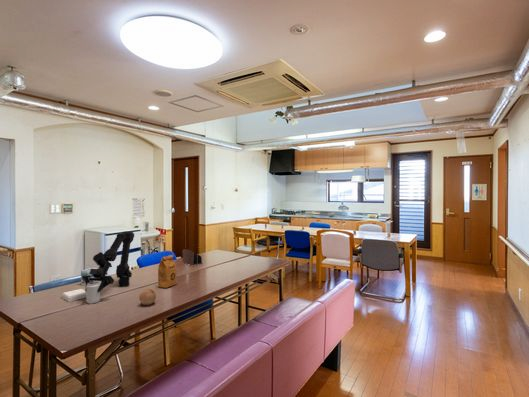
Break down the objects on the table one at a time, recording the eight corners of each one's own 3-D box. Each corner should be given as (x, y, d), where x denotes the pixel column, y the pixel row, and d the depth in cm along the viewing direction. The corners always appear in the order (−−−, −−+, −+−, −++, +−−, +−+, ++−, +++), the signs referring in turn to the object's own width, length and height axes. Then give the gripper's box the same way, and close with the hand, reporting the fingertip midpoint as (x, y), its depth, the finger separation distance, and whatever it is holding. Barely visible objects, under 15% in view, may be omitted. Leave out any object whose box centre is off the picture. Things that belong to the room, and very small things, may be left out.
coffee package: (179, 284, 220) (178, 254, 220) (166, 289, 209) (166, 258, 209) (168, 283, 224) (168, 253, 224) (156, 287, 213) (155, 256, 213)
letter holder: (192, 266, 278) (192, 251, 278) (182, 262, 293) (182, 248, 292) (202, 264, 285) (202, 249, 285) (191, 261, 299) (191, 247, 299)
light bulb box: (88, 286, 218) (88, 271, 218) (80, 285, 219) (80, 270, 219) (99, 281, 228) (99, 267, 228) (91, 281, 230) (91, 267, 230)
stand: (82, 292, 202) (82, 288, 202) (89, 296, 195) (89, 292, 195) (61, 297, 193) (61, 292, 193) (68, 301, 185) (68, 296, 185)
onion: (154, 307, 183) (161, 292, 184) (145, 309, 174) (153, 292, 176) (142, 300, 186) (150, 285, 187) (132, 301, 177) (141, 285, 178)
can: (90, 300, 188) (89, 281, 188) (102, 299, 189) (102, 280, 189) (83, 304, 181) (83, 284, 181) (96, 303, 181) (96, 284, 181)
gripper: (83, 262, 189) (70, 285, 178) (111, 263, 187) (100, 286, 177) (91, 271, 197) (80, 294, 186) (118, 272, 195) (108, 294, 185)
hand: (91, 292), depth 183 cm, fingers closed on can, 7 cm apart
